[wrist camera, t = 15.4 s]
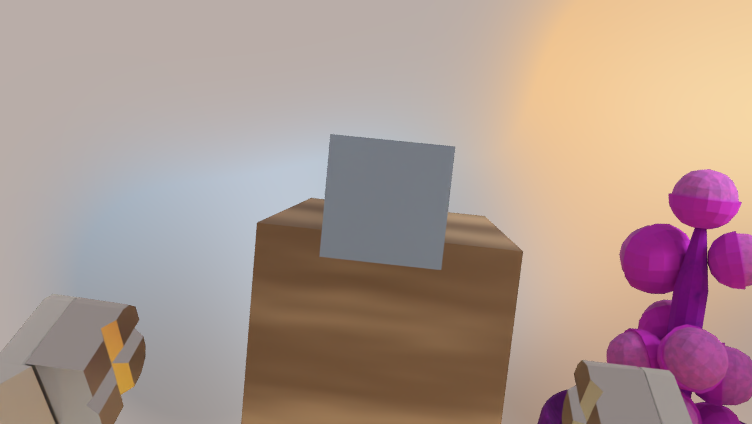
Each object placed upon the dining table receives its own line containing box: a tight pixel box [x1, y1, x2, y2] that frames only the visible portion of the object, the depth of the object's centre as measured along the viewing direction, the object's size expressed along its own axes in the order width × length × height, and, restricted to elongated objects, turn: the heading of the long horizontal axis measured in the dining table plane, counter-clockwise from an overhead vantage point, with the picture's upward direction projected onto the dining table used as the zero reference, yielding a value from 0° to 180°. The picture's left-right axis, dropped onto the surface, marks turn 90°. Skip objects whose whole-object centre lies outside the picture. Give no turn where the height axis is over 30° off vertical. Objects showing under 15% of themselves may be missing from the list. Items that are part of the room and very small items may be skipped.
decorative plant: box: [538, 169, 752, 424], centre depth 39 cm, size 19×18×30 cm
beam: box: [319, 134, 455, 270], centre depth 31 cm, size 28×4×4 cm, turn 176°
